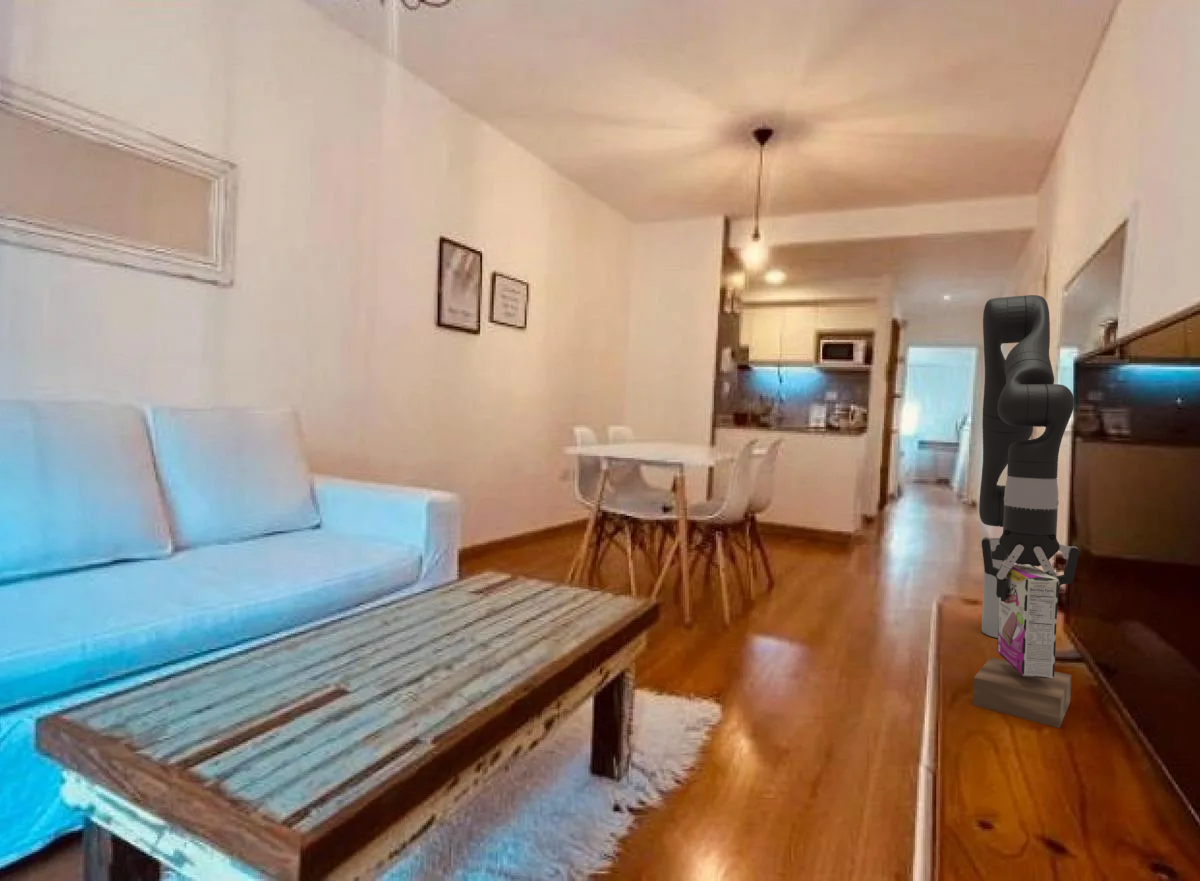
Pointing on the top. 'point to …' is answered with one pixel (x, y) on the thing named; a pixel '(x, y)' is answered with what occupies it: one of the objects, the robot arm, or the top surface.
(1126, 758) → the top surface
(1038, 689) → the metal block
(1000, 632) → the candy bar box
